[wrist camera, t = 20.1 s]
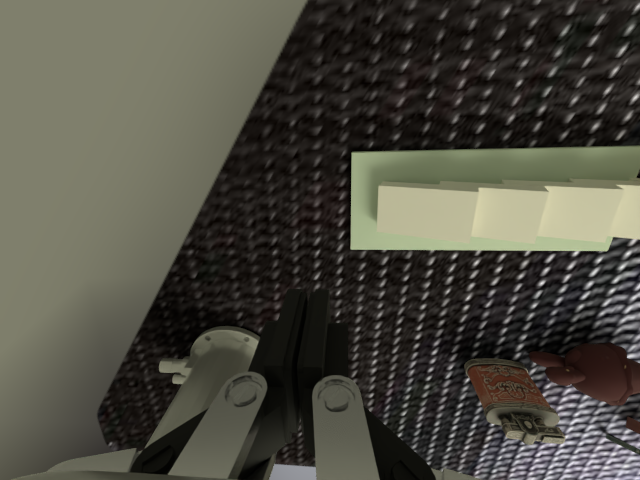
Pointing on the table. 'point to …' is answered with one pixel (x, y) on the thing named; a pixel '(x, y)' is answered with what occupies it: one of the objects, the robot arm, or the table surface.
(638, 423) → the binoculars
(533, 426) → the lighter
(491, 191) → the domino
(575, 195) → the domino
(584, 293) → the table surface
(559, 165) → the board
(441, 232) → the domino
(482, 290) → the table surface
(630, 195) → the domino
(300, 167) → the table surface
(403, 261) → the table surface
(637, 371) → the icecream
